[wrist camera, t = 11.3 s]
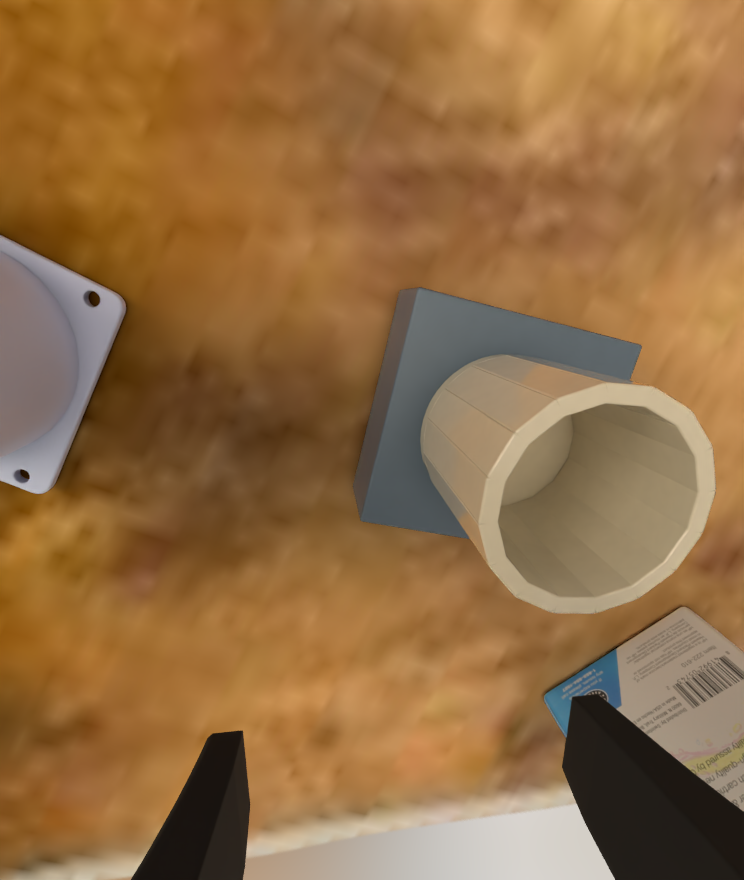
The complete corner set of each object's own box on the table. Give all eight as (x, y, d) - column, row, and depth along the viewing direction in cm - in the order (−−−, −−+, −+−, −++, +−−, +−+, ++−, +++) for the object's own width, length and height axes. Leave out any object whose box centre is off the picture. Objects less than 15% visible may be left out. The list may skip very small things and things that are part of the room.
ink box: (581, 752, 25) (798, 1113, 14) (538, 693, 24) (743, 1044, 13) (720, 665, 25) (1060, 967, 14) (686, 600, 23) (1036, 879, 12)
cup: (390, 470, 16) (434, 563, 10) (473, 322, 15) (573, 335, 9) (520, 532, 17) (622, 644, 12) (605, 400, 16) (762, 453, 11)
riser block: (352, 487, 20) (359, 521, 17) (399, 289, 18) (418, 286, 15) (528, 518, 21) (565, 555, 18) (590, 338, 19) (644, 345, 16)
